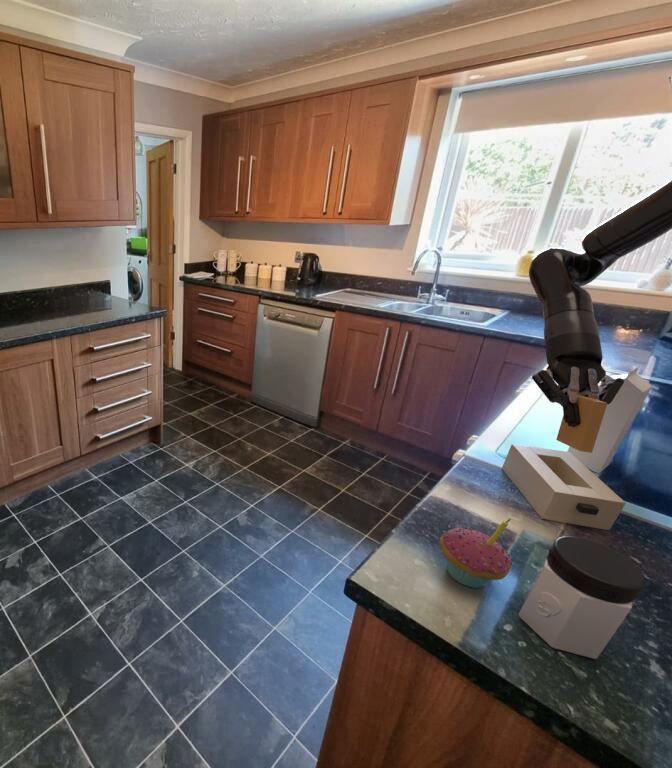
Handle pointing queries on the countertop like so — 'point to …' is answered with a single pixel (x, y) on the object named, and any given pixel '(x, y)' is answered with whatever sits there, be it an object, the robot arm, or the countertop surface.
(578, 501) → the toaster
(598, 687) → the countertop surface
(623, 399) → the milk
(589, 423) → the toast
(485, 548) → the cupcake
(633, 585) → the jar
